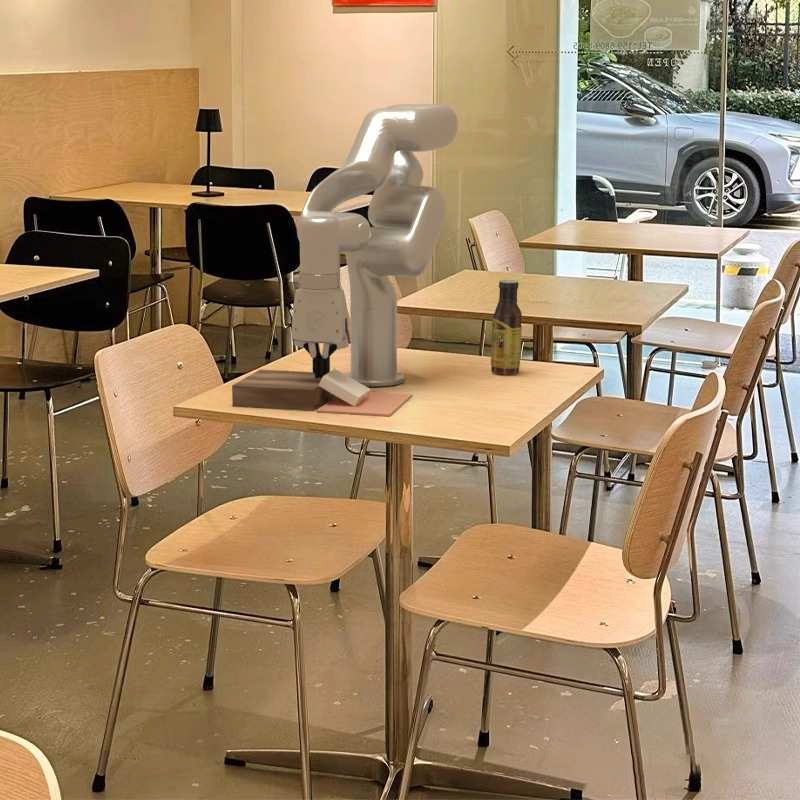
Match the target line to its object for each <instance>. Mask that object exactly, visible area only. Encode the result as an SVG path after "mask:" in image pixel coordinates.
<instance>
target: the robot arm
mask: <svg viewBox="0 0 800 800" xmlns="http://www.w3.org/2000/svg"><path fill="white" fill-rule="evenodd" d="M458 128H459V123H458V116H457V114H456V113H455V110H453V108H452V107H451V106H449V105H447V104H437V103H436V104H435V103H434V104H430V103H429V104H427V103H426V104H416V103H404V104H403V103H402V104H400V103H399V104H393V105H389V106H387V107H383V108H376V109H373V110H371V111H370V112H368V113H367V114H366V115H365V117H364V118H363V120H362V123H361V125H360V126H359V129H358V132H357V134H356V137H355V139H354V141H353V144H352V147H351V149H350V152H349V153H348V156H347V158H346V161H345V162H344V164H343V165H342V166H340V167H339V168H338V169H336V170H335V171H333V172H332V173H330V174H329V175H328V176H326V177H325V178H324V179H323V180H322V181H320V182H319V183H318V184H317V185H316V186H315V187H314V188H313V189H312V190H311V191H310V193H309V195H308V197H307V198H306V200H305V204H304V206H303V207H302V210H301V212H300V215H299V218H298V221H297V227H296V228H297V229H296V234H297V235H296V236H297V238H298V239H297V240H298V242H299V262H300V263H299V266H300V267H299V270H300V271H299V273H298V274H294V275H293V277H292V280H293V283H297V284H298V285H299V287H300V288H297V289H296V290H295V294H294V300H293V306H292V307H293V309H292V319H291V320H292V323H291V324H292V325H291V334H292V339H293V345H294V346H295V347H299V348H302V349H304V350H305V351H306V352H307V353H308V354H309V356H310V357H311V358H312V372H313V373H315V378H316V379H318V378H320V379H322V377H323V376H324V375H326V374H327V373H329V372H330V371H331V356H332V355H333V354H334V353H335V352H336V351H337V350H343V349H347V348H348V347H349V339H348V336H349V320H350V372H349V371H348V372H347V373H344V374H345V375H347V376H348V377H350V378H352V379H354V380H355V381H357V382H359V383H361V384H362V385H364V386H366V387H368V388H369V387H371V388H372V387H376V388H377V387H389V386H395V385H399V384H402V383H404V381H405V375H404V373H402V372H398V296H397V293H396V289H395V287H394V285H393V283H392V281H391V280H390V276H391V277H403V278H414V277H415V278H417V277H420V276H421V275H422V274H424V273H425V271H426V270H427V268H428V266H429V264H430V262H431V260H432V257H433V254H434V252H435V248H436V247H437V245H438V241H439V238H440V235H441V234H442V233H441V232H442V230H443V227H444V223H445V220H446V211H447V210H446V208H447V207H446V201H445V197H444V195H443V194H442V192H441V191H440V190H438V189H437V188H436V187H433V186H426V185H422V183H423V179H424V170H423V168H422V165H421V163H420V161H419V160H418V158H417V157H416V155H415V154H414V152H417V153H419V152H429V151H434V150H437V149H441V148H445V147H448V146H449V145H450V144H451V143H452V142H453V141H454V140H455V138H456V136H457V133H458ZM371 192H373V194H372V197H371V200H370V203H369V206H368V211H367V216H368V219H367V218H365V217H364V216H363V215H361V214H358V213H354V212H340V211H334V210H335V209H336V208H337V207H338V206H340V205H341V204H343V203H346V202H347V201H349V200H352V199H356V198H359V197H361V196H365V195H366V194H368V193H371ZM371 225H372V226H371ZM341 253H344V254H345V260H346V266H347V271H348V277H349V279H348V280H349V292H350V293H349V296H350V300H349V301H350V303H349V305H350V310H349V311H350V316H348V307H347V300H346V295H345V291H344V289H343V288H341ZM348 317H350V318H348ZM320 344H323V346H322V350H321V347H320ZM321 351H322V352H321Z"/></svg>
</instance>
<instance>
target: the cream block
mask: <svg viewBox="0 0 800 800" xmlns="http://www.w3.org/2000/svg"><path fill="white" fill-rule="evenodd" d="M345 374H346V373H343V372H342V371H340V370H338V369H336V368H334V369H332V370H330V372H329V373H327V374H326V375H324V376H323V377H322V379H321V381H320V383H319V385H318V386H320V387H321V388H323V389H325V390H327V391H328V392H330V393H332V394H334V397H335V396H337V397H339V398H341V399H342V400H344V401H346V402H347V403H349V404H351V405H353V406H354V407H355V406H356V405H357V404H358V403H360V402H361V401H362V400H363V399H365V398H366V396H367V394H368V392H370V390H371V388H369V387H367V386H364V385H362V384H361V383H359V382H357V381H355V380H354V379H352V378H350V377H348V376H347V375H345Z"/></svg>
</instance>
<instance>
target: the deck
mask: <svg viewBox="0 0 800 800" xmlns="http://www.w3.org/2000/svg"><path fill="white" fill-rule="evenodd" d="M320 381H321V379H320V378H318V379H316V378H315V373H313V371H295V370H280V369H279V370H277V369H259V370H257V371H256V372H254V373H251V374H250V375H248V376H246V377H245V378H243V379H241V380H239V381H237V382H236V383H233V384H232V385H231V390H232V391H231V393H232V395H231V396H232V397H231V400H232V407H243V408H259V409H274V410H275V409H276V410H294V411H295V410H296V411H308V412H309V411H312V412H314V411H316V410H317V409H319V408H320V407H322V406H323V404H326V403H327V401H328V400H329V401H330V400H331V399H332V398H334V397H335V395H334V394H332V393H330V392H328V391H327V390H325V389H323V388H321V387H320V386H318V385H319V383H320ZM331 397H332V398H331Z"/></svg>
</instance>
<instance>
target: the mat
mask: <svg viewBox="0 0 800 800" xmlns="http://www.w3.org/2000/svg"><path fill="white" fill-rule="evenodd" d="M412 397H413V394H412V393H396V392H395V393H394V392H392V393H391V392H380V391H379V392H378V391H376V392H375V391H369V392H368V394H367V396H366V398H365V399H363V400H362V401H361V402H360V403H358V404H357V405H356V406H355V407H354V406H353V405H351V404H349V403H347V402H346V401H344V400H342V399H341V398H339V397H337V396H335V395H334V396H333V397H332V398H330V399H329V401H328V402H327V401H326V402H325V403H324V405H323V404H322V405H321V406H319V407H318V408H317V409H316V412H317V413H323V414H325V413H326V414H338V413H339V415H340V414H343V415H359V416H372V417H376V416H377V417H391V416H392V415H393V414H394V413H395V412H397V411H398V410H399V409H401V407H402V406H403V405H405V403H407V402H408V401H409V400H410V399H411V398H412Z"/></svg>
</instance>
